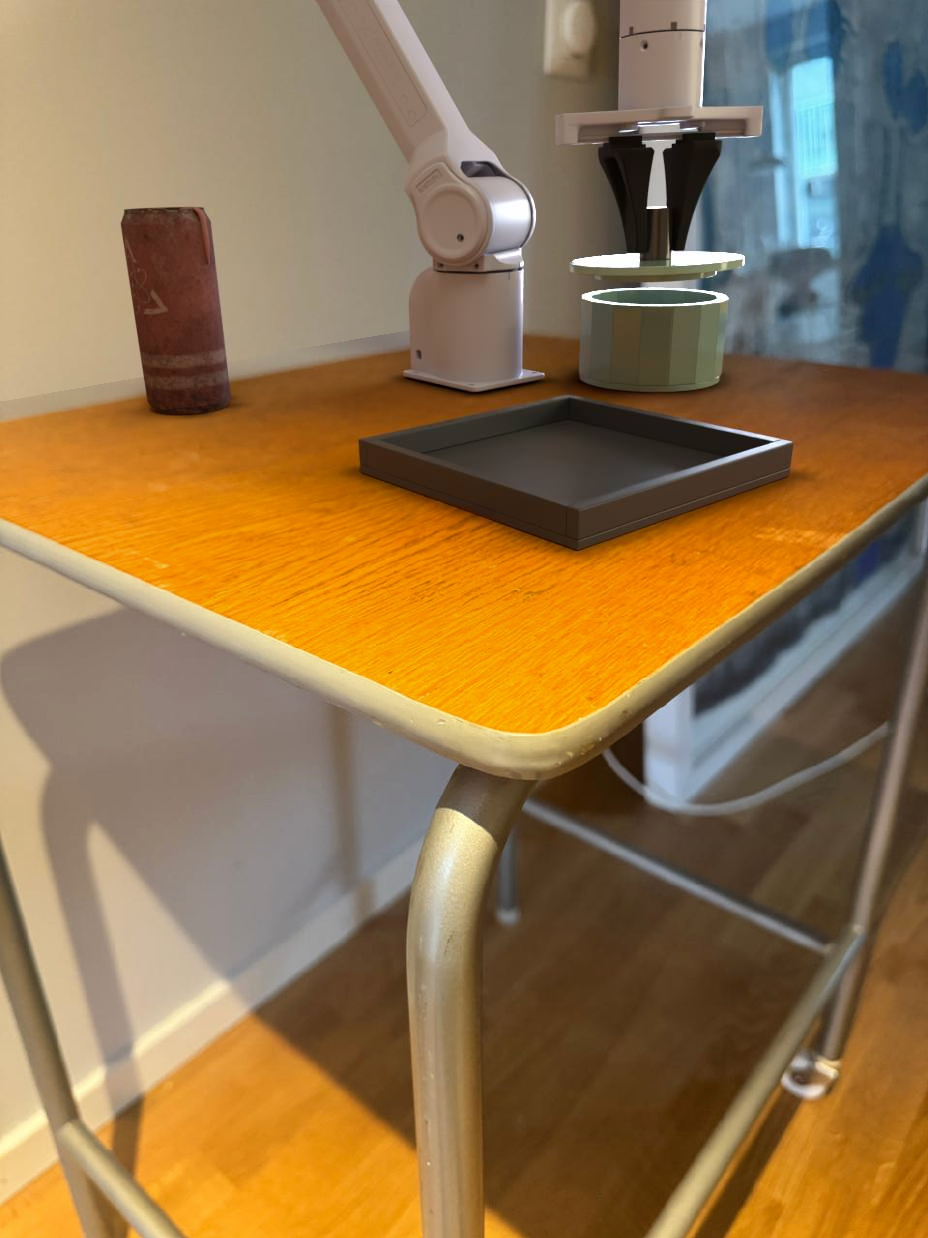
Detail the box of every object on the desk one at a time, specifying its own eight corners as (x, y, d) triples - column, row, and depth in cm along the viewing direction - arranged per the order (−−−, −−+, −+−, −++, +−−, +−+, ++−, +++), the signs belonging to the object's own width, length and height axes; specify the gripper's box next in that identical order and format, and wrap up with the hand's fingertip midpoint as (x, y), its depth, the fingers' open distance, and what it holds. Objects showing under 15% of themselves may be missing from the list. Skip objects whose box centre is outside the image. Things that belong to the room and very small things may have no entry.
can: (214, 416, 71) (188, 207, 65) (133, 414, 72) (101, 208, 66) (247, 398, 76) (226, 204, 71) (172, 396, 78) (145, 205, 72)
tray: (359, 472, 58) (357, 438, 57) (567, 422, 68) (568, 393, 67) (577, 550, 46) (578, 510, 45) (789, 475, 56) (794, 441, 55)
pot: (556, 384, 80) (558, 301, 77) (609, 360, 89) (613, 285, 86) (695, 397, 75) (702, 309, 72) (736, 371, 84) (744, 291, 81)
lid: (541, 284, 70) (540, 214, 68) (605, 268, 80) (606, 206, 78) (715, 285, 64) (720, 208, 63) (761, 267, 74) (766, 200, 73)
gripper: (576, 30, 61) (576, 260, 67) (790, 25, 64) (773, 248, 69) (546, 45, 68) (548, 254, 73) (741, 40, 70) (729, 243, 76)
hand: (655, 251), depth 72 cm, fingers closed on lid, 2 cm apart
